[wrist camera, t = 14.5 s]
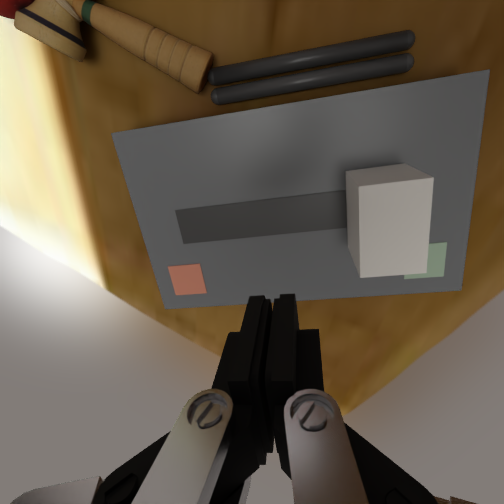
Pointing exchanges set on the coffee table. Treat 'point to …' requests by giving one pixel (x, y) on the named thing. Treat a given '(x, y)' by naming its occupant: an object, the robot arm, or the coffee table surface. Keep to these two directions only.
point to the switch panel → (301, 177)
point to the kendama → (108, 35)
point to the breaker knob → (389, 219)
